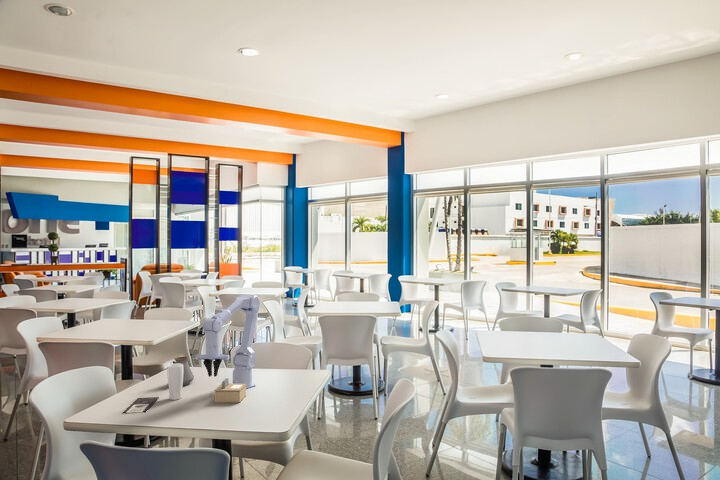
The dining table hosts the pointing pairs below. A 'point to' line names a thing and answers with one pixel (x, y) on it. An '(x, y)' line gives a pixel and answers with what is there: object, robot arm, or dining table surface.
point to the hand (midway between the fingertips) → (212, 375)
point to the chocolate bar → (141, 405)
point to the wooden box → (230, 396)
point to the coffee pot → (185, 370)
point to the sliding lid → (229, 386)
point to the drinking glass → (175, 380)
